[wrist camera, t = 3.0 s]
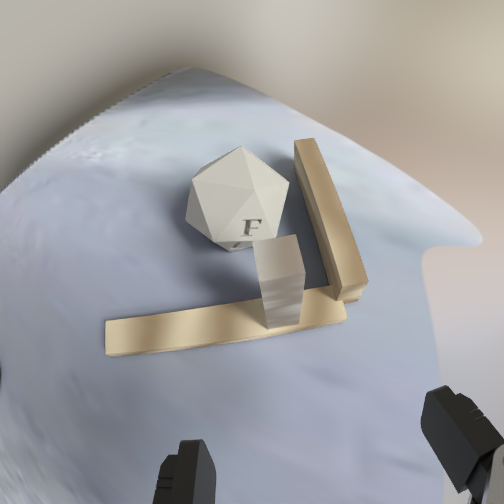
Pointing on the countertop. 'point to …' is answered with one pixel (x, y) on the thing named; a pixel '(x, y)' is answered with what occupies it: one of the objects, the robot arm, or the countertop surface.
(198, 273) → the countertop surface
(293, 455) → the countertop surface
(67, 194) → the countertop surface
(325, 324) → the l-shaped corner bracket
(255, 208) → the die
